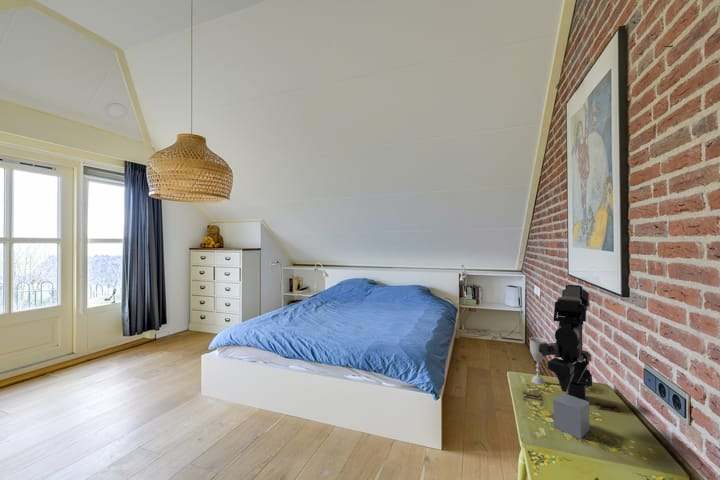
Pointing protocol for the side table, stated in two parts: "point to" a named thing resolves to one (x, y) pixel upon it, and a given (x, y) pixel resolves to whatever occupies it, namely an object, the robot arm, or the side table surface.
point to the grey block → (571, 415)
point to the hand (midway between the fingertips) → (570, 387)
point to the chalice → (537, 357)
